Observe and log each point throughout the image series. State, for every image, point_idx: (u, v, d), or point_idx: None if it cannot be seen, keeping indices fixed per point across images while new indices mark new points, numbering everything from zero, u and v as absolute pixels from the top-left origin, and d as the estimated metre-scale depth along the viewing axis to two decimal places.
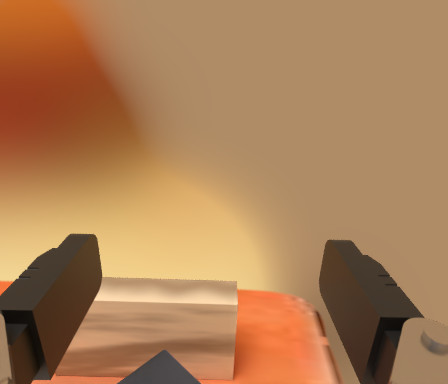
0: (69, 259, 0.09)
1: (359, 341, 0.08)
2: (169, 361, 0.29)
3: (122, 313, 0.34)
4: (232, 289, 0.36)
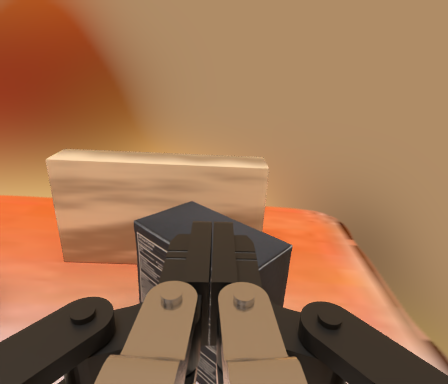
0: (208, 242, 0.10)
1: None
2: (198, 207, 0.26)
3: (140, 180, 0.31)
4: (260, 161, 0.33)
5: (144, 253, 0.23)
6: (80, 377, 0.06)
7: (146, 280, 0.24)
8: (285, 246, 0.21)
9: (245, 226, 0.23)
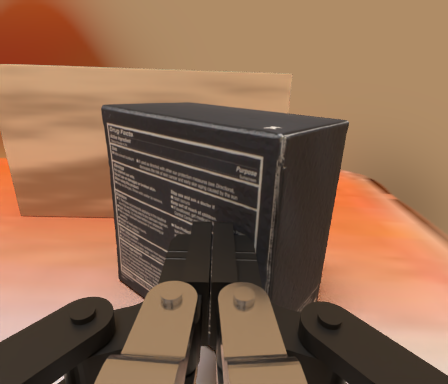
0: (208, 242, 0.10)
1: None
2: (197, 103, 0.18)
3: (117, 94, 0.23)
4: None
5: (119, 155, 0.15)
6: (80, 377, 0.06)
7: (124, 201, 0.16)
8: (338, 120, 0.13)
9: (269, 111, 0.16)
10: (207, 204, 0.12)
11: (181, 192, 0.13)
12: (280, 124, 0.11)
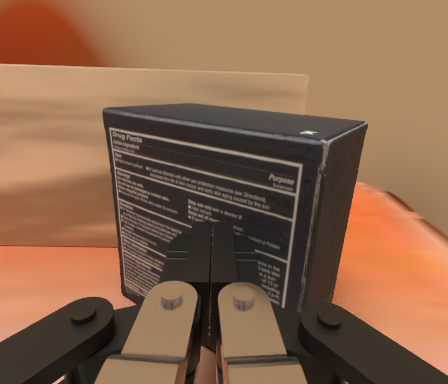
0: (208, 242, 0.10)
1: None
2: (200, 104, 0.17)
3: (91, 99, 0.18)
4: None
5: (124, 162, 0.14)
6: (80, 377, 0.06)
7: (130, 211, 0.15)
8: (358, 121, 0.13)
9: None
10: (233, 214, 0.11)
11: (201, 201, 0.12)
12: (311, 128, 0.10)
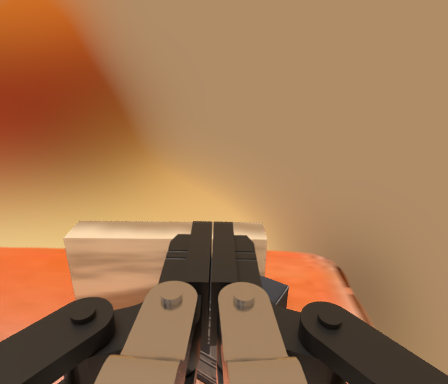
0: (208, 242, 0.10)
1: None
2: None
3: (150, 252, 0.34)
4: (259, 228, 0.36)
5: None
6: (80, 377, 0.06)
7: None
8: (283, 287, 0.29)
9: None
10: None
11: None
12: None
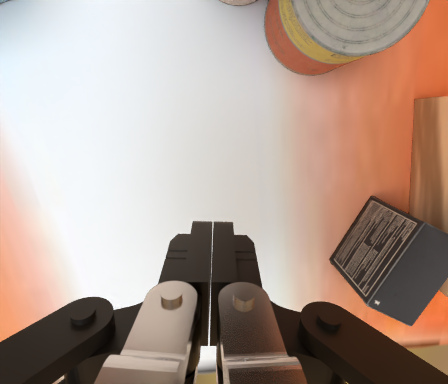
0: (208, 242, 0.10)
1: None
2: None
3: None
4: None
5: (403, 225, 0.32)
6: (80, 377, 0.06)
7: (389, 219, 0.35)
8: (408, 322, 0.33)
9: (431, 296, 0.32)
10: (367, 268, 0.34)
11: (374, 257, 0.34)
12: (384, 304, 0.32)
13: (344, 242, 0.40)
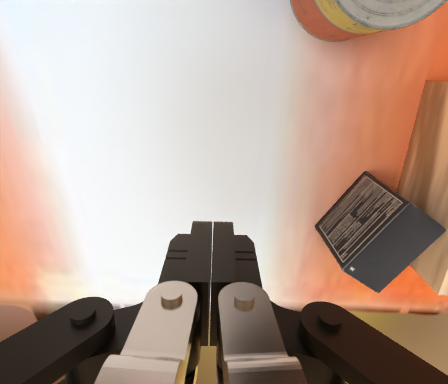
0: (208, 242, 0.10)
1: None
2: (432, 238, 0.33)
3: None
4: None
5: (389, 202, 0.34)
6: (80, 377, 0.06)
7: (377, 195, 0.36)
8: (376, 289, 0.36)
9: (401, 269, 0.35)
10: (348, 237, 0.37)
11: (357, 228, 0.36)
12: (358, 271, 0.35)
13: (332, 211, 0.42)
